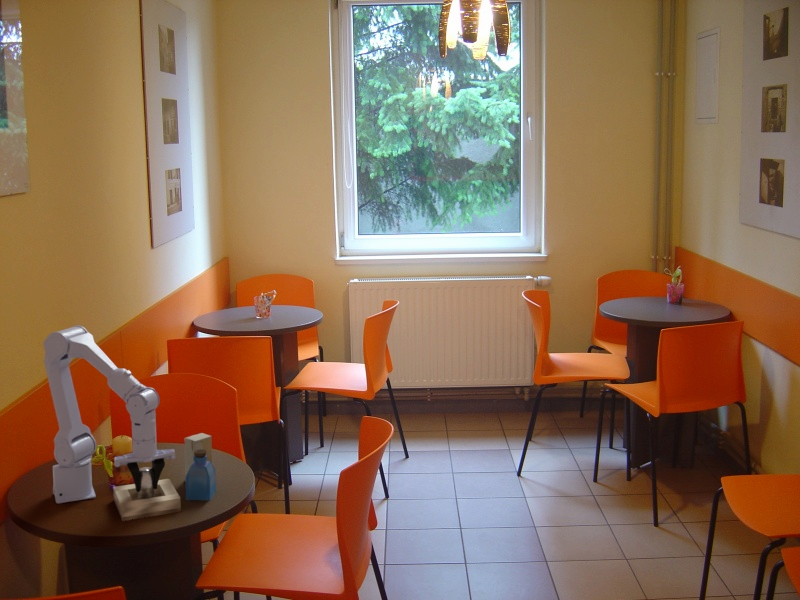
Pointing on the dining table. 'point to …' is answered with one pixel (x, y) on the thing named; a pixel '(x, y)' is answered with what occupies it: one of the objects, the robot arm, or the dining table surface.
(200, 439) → the skincare box
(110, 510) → the dining table surface
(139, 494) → the metal pin
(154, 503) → the socket block
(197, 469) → the perfume bottle
